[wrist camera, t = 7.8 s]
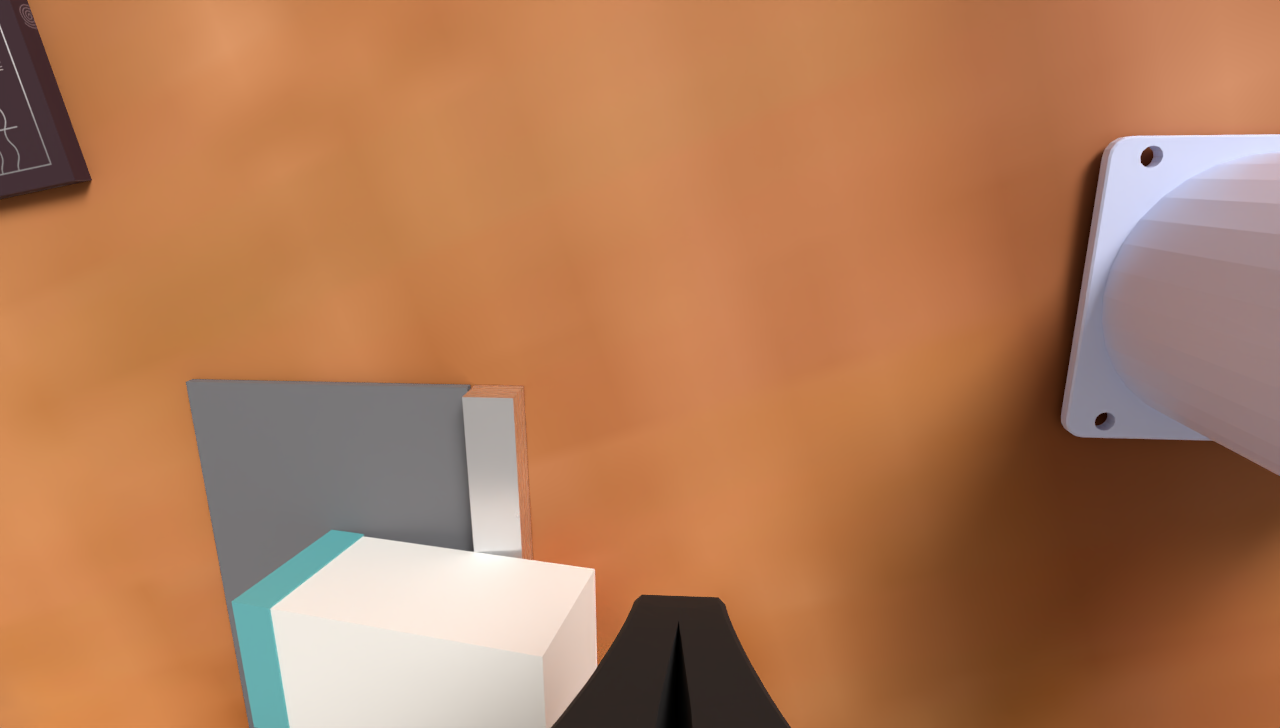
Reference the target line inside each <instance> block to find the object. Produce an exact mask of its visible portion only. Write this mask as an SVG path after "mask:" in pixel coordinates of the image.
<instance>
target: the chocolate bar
mask: <svg viewBox="0 0 1280 728" xmlns="http://www.w3.org/2000/svg"><path fill="white" fill-rule="evenodd" d="M90 180H92V179H91V177H90V174H89V171H88V168H87V166H86V163H85V160H84V157H83V154H82V152H81V149H80V146H79V143H78V141H77V138H76V135H75V132H74V129H73V127H72V124H71V121H70V118H69V116H68V113H67V110H66V107H65V104H64V102H63V99H62V96H61V93H60V90H59V88H58V85H57V82H56V79H55V77H54V74H53V71H52V68H51V65H50V63H49V60H48V57H47V54H46V52H45V49H44V46H43V43H42V40H41V38H40V35H39V32H38V29H37V26H36V24H35V21H34V18H33V15H32V13H31V10H30V7H29V4H28V1H27V0H0V199H3V198H8V197H13V196H18V195H22V194H27V193H32V192H37V191H42V190H47V189H51V188H56V187H61V186H66V185H71V184H76V183H80V182H85V181H90Z"/></svg>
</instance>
